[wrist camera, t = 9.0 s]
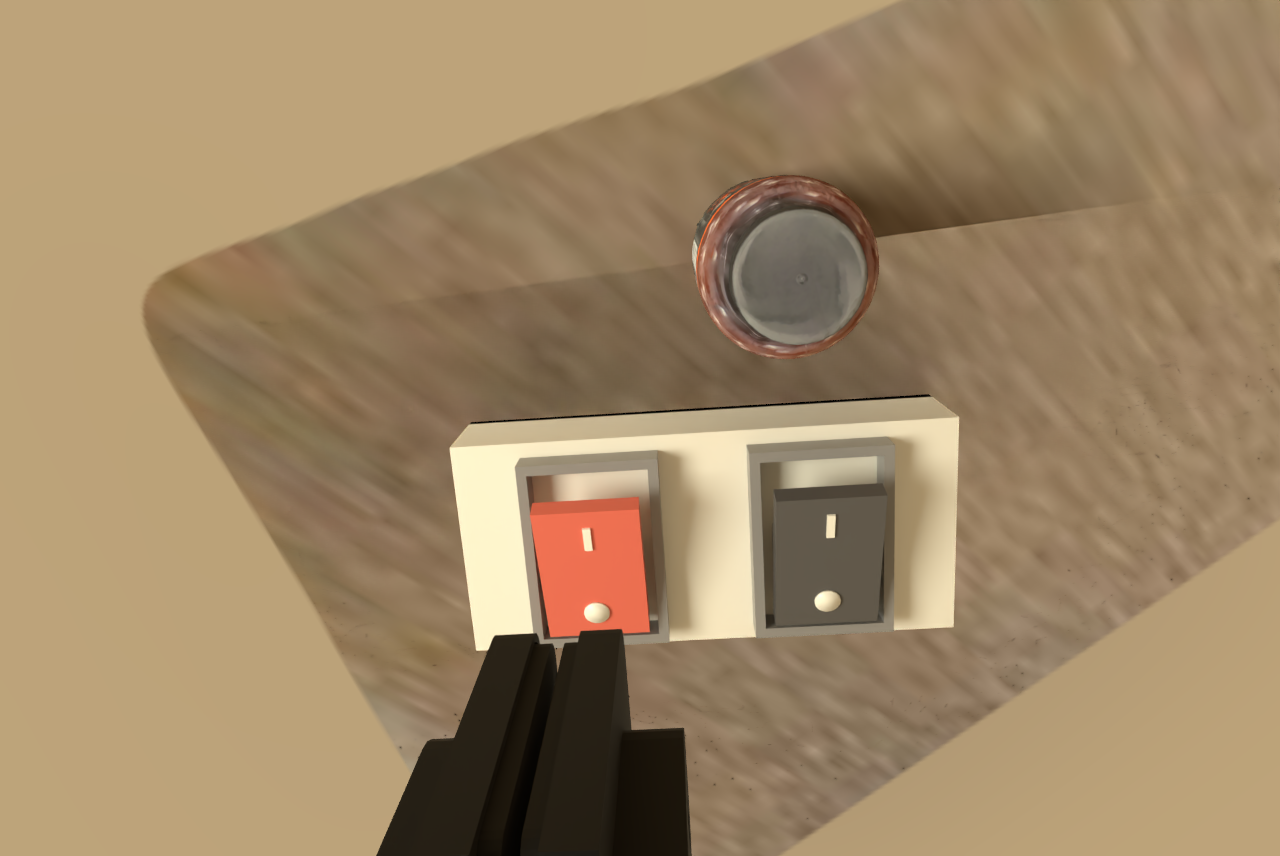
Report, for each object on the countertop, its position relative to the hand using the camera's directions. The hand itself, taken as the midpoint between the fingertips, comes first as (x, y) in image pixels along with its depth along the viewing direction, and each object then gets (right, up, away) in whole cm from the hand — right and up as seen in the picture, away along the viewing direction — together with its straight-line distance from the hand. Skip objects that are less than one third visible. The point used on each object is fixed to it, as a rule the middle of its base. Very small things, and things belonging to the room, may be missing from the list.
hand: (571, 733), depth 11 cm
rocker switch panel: (+4, +1, +28) cm, 28 cm away
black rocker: (+8, -1, +23) cm, 24 cm away
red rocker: (-1, -1, +23) cm, 23 cm away
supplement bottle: (+6, +11, +25) cm, 28 cm away
